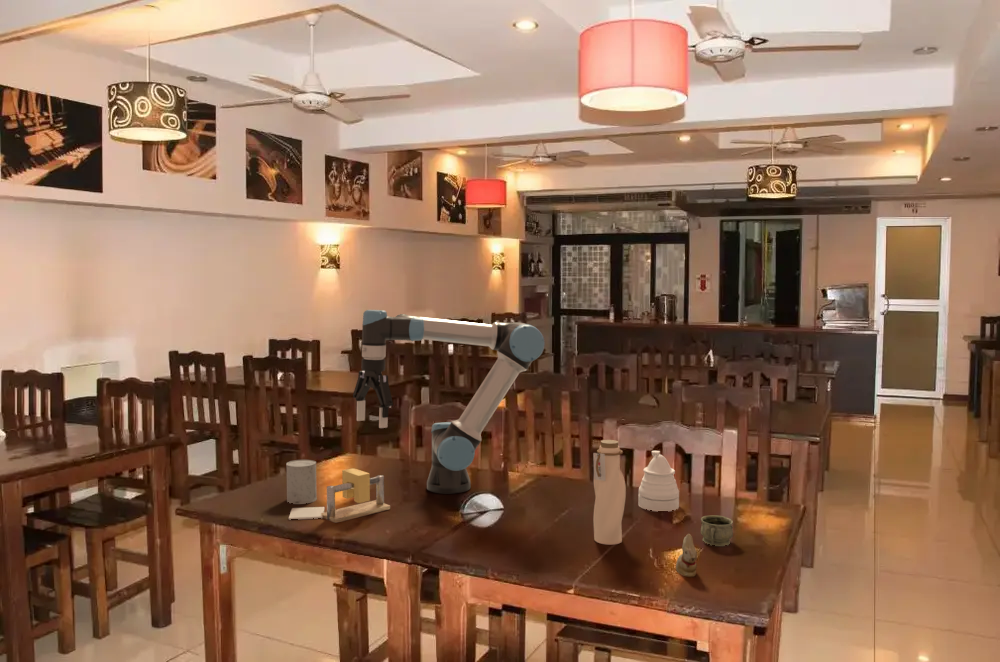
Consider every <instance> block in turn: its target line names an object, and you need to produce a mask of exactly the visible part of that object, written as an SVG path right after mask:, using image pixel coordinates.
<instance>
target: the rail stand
mask: <svg viewBox="0 0 1000 662" xmlns="http://www.w3.org/2000/svg"><path fill="white" fill-rule="evenodd" d="M384 480H385V476H384V475H383V474H382V475H379V474H378V475H376V476H374V477H370V486H371V485H375V489H376V490H375V492H376V495H375V496H376V497H375V498H376V499H375V500H370V501H366V502H362V503H357V504H354V505H350V506H346V507H341V508H337V509H336V493H340V492H343V491H344V490H349V489H353V488H354V484H353V483H345V484H338V485H328V486H326V511H324V513H321V515H322V516H323V518H322V519H324V520H326V521H329V522H332V523H335V524H336V523H337V524H338V523H340V522H346V521H349V520H352V519H357V518H361V517H365V516H368V515H372V514H373V515H374V514H376V513H380V512H381V513H382V512H384V511H388V510H391V505H390V504H387V503H385V486H384V485H385V481H384Z"/></svg>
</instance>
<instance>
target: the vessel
mask: <svg viewBox="0 0 1000 662" xmlns="http://www.w3.org/2000/svg"><path fill="white" fill-rule="evenodd" d="M700 521H701V527H700V534H701V536H703V538H702V542H703V541H704V542H705V543H704V542H703V543H704V544H706V543H707V544H706V545H708V544H710V545H709V546H712V545H715V546H714V547H726V546H725V545H727V546H729V544H730V542H731V541H730V539H732V538H733V535H734V533H733V532H734V531H733V523H734V522H733V521H734V520H732V518H729V517H727V516H723V515H704V516H702V517H700ZM730 545H731V544H730Z"/></svg>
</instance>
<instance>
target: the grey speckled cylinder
mask: <svg viewBox="0 0 1000 662" xmlns="http://www.w3.org/2000/svg"><path fill="white" fill-rule="evenodd" d="M317 499H318V498H317V461H315V460H313V459H296V460H290V461H287V462H286V502H287V503H288V502H289V503H288V504H291V503H293V504H292V505H305V504H306V503H307V504H310V503H314V502H317ZM307 504H306V505H307Z"/></svg>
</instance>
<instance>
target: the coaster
mask: <svg viewBox="0 0 1000 662" xmlns="http://www.w3.org/2000/svg"><path fill="white" fill-rule="evenodd" d="M324 512H325V506H315V507H314V506H311V507H309V506H308V507H292V508H291V510H290V512H289V513H290V514H289V516H288V520H289V521H292V520H291V519H298V520H316V519H317V520H318V518H321V519H324V518H323V516H322V515H321V513H324ZM313 518H314V519H313Z"/></svg>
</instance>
